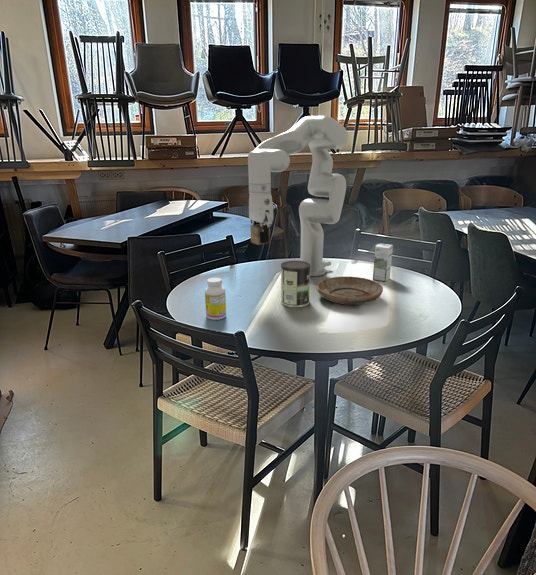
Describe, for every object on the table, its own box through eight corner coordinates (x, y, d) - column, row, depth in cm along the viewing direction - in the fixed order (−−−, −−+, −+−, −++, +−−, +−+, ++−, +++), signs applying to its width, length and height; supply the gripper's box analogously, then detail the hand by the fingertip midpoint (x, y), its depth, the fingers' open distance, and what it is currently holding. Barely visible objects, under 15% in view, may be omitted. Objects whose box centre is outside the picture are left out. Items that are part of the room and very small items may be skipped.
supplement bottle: (208, 312, 146) (206, 276, 142) (227, 312, 146) (226, 276, 142) (204, 320, 140) (202, 283, 135) (225, 320, 140) (223, 283, 135)
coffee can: (308, 297, 159) (309, 260, 155) (310, 307, 150) (311, 268, 145) (280, 297, 160) (280, 260, 155) (280, 307, 150) (280, 268, 145)
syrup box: (390, 278, 180) (393, 244, 175) (385, 282, 175) (388, 247, 170) (376, 276, 183) (379, 242, 178) (372, 280, 178) (374, 245, 173)
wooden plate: (334, 284, 174) (335, 272, 172) (391, 295, 161) (392, 283, 159) (304, 301, 156) (305, 288, 154) (366, 316, 143) (367, 302, 141)
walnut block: (263, 240, 157) (262, 223, 155) (270, 243, 153) (269, 226, 151) (250, 242, 154) (250, 225, 152) (257, 244, 150) (257, 227, 148)
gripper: (282, 190, 142) (282, 244, 148) (257, 185, 156) (258, 235, 162) (262, 192, 139) (263, 247, 145) (238, 186, 152) (240, 237, 159)
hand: (260, 240), depth 153 cm, fingers closed on walnut block, 5 cm apart
